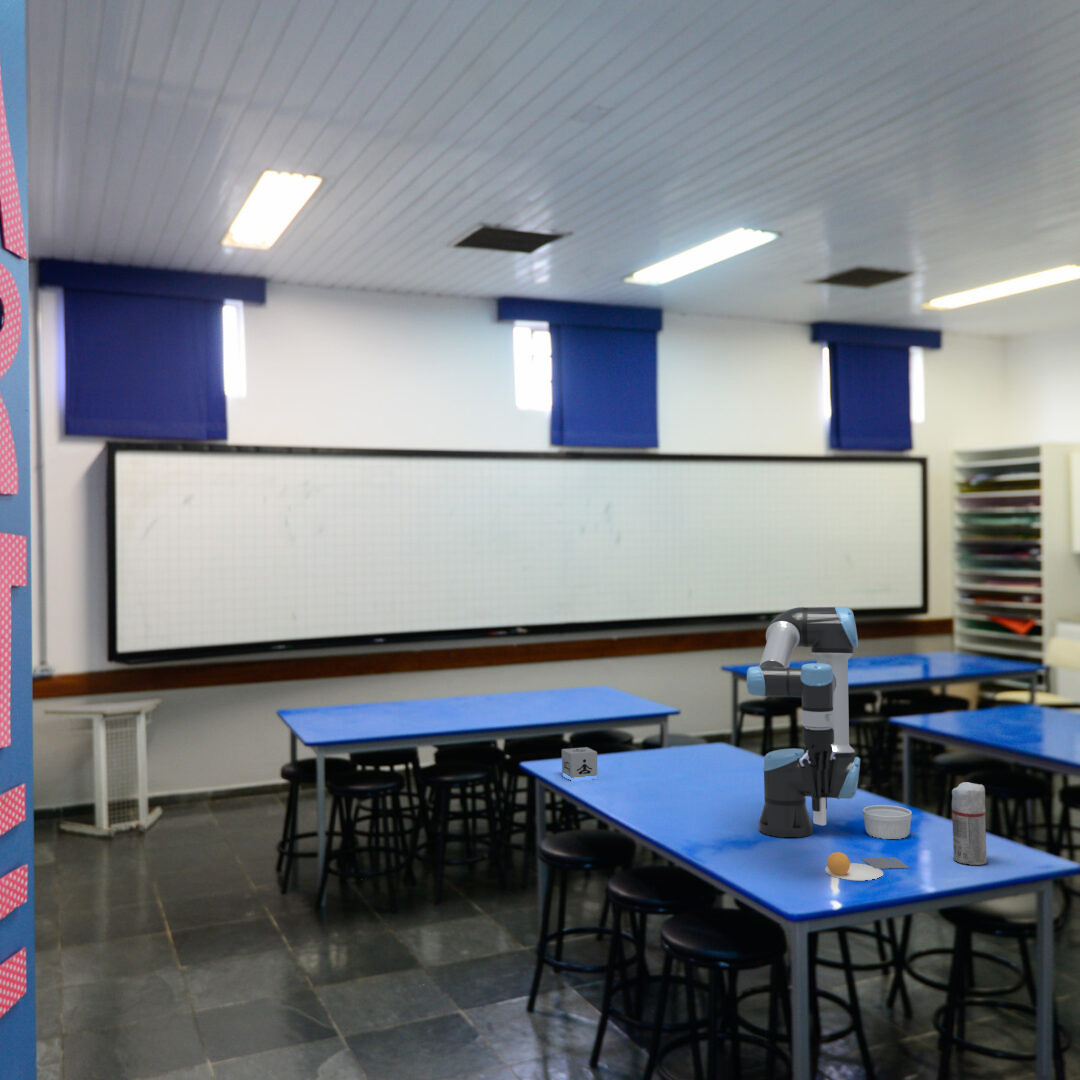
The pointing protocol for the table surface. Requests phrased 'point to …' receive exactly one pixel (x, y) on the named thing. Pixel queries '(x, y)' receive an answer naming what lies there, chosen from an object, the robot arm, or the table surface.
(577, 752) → the icon cube
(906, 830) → the ramekin
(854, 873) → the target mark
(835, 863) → the ball
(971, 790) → the spray can
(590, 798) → the table surface
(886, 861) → the far mark
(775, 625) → the robot arm
